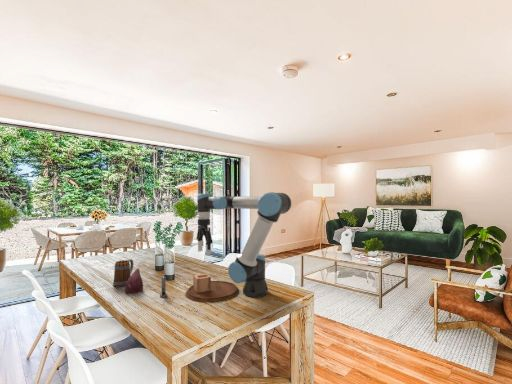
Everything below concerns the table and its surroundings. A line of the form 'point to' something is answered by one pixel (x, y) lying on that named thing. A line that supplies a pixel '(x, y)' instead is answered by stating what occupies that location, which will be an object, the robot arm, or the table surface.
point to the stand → (163, 287)
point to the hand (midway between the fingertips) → (204, 253)
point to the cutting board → (214, 292)
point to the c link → (202, 283)
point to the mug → (122, 272)
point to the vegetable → (134, 283)
